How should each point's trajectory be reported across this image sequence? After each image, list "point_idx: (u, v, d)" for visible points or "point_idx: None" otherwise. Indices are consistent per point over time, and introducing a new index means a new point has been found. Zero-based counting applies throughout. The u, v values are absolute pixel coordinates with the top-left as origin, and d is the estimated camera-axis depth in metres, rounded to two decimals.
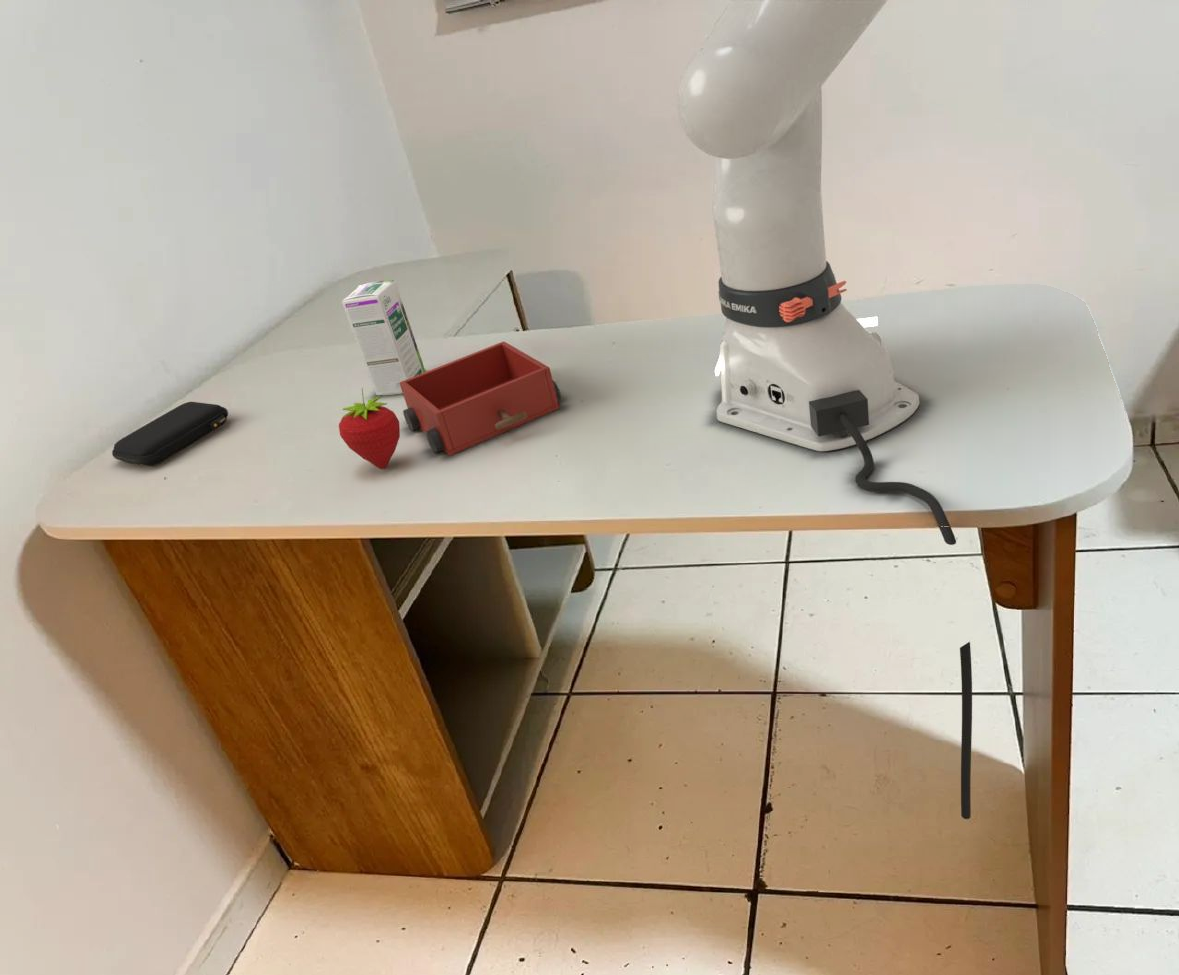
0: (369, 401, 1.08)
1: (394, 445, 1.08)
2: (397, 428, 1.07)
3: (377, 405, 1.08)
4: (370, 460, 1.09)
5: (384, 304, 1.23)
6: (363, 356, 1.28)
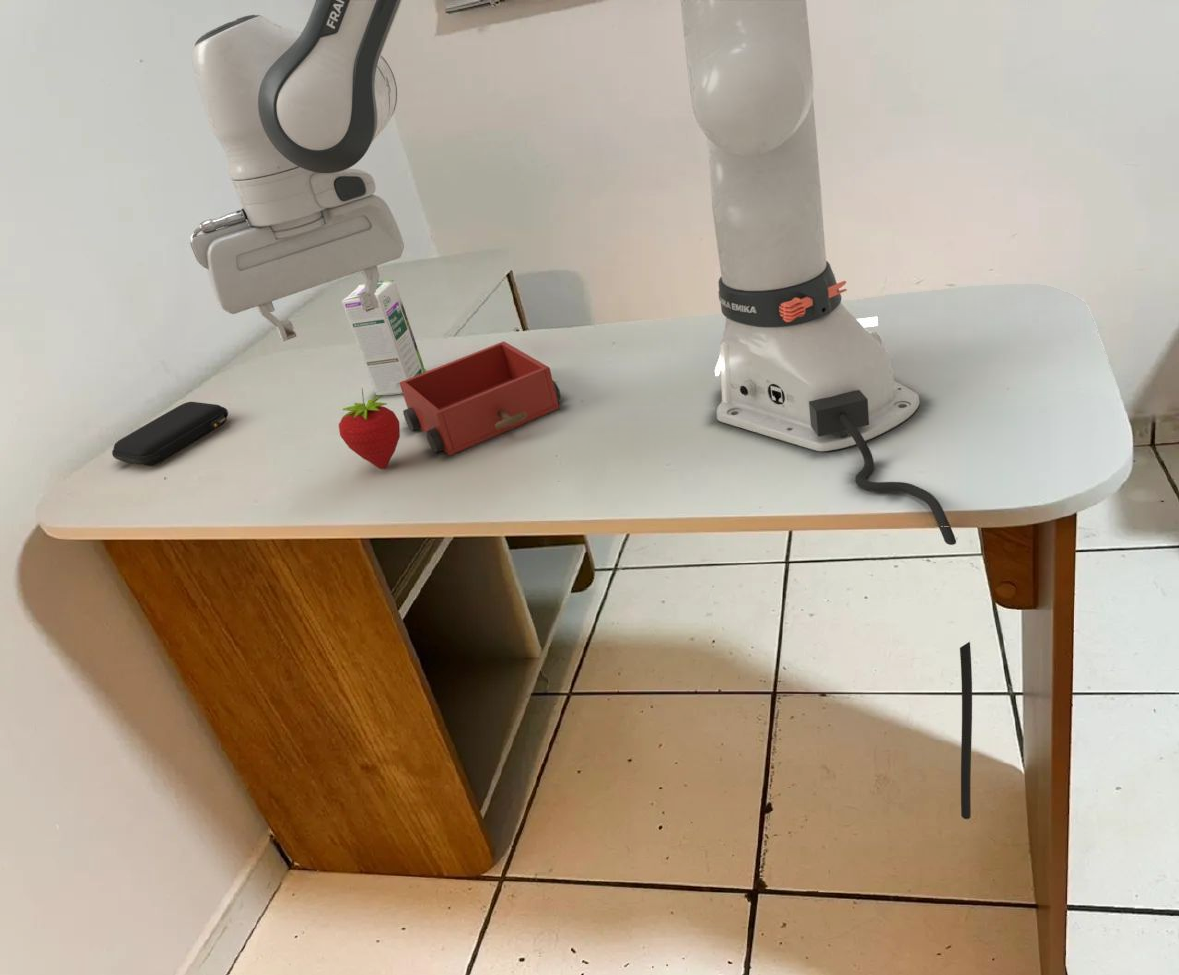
0: (369, 401, 1.08)
1: (394, 445, 1.08)
2: (397, 428, 1.07)
3: (377, 405, 1.08)
4: (370, 460, 1.09)
5: (384, 304, 1.23)
6: (363, 356, 1.28)
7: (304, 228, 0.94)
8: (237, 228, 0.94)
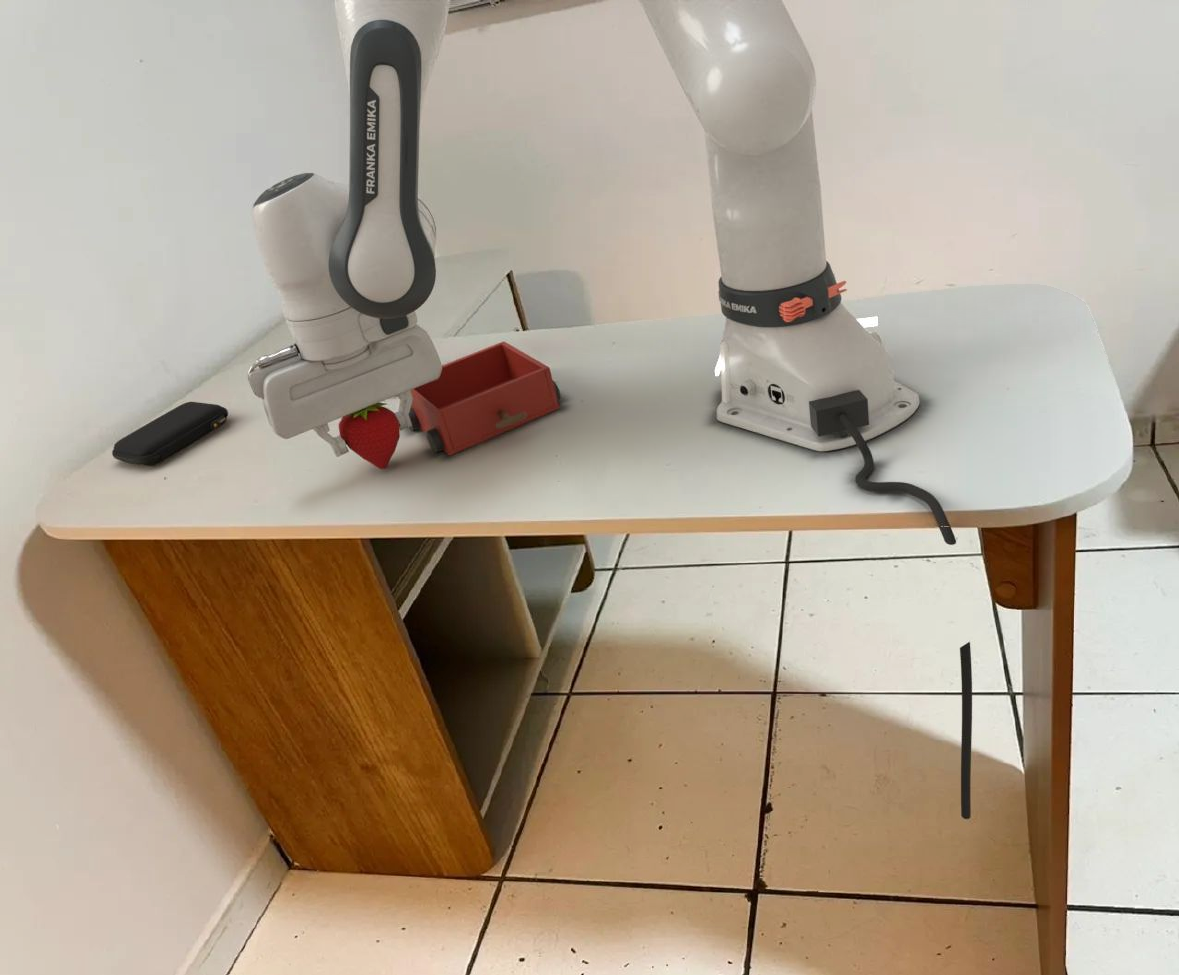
0: None
1: (394, 445, 1.08)
2: (397, 428, 1.07)
3: (377, 405, 1.08)
4: (370, 460, 1.09)
5: None
6: None
7: (352, 361, 1.02)
8: (290, 362, 1.01)
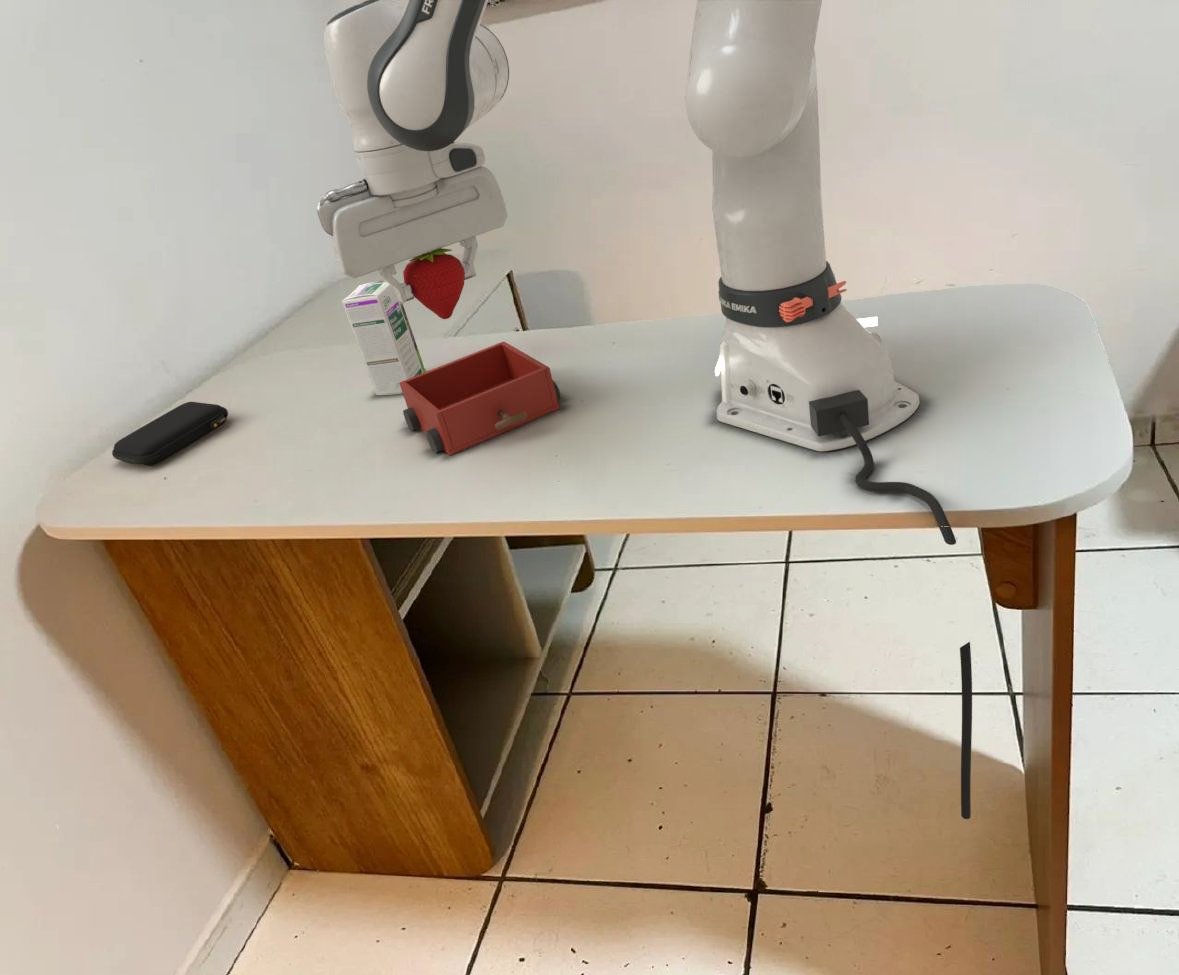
0: None
1: (459, 292, 1.08)
2: (462, 274, 1.07)
3: (442, 251, 1.07)
4: (434, 308, 1.09)
5: (384, 304, 1.23)
6: (363, 356, 1.28)
7: (421, 197, 1.01)
8: (359, 197, 1.01)
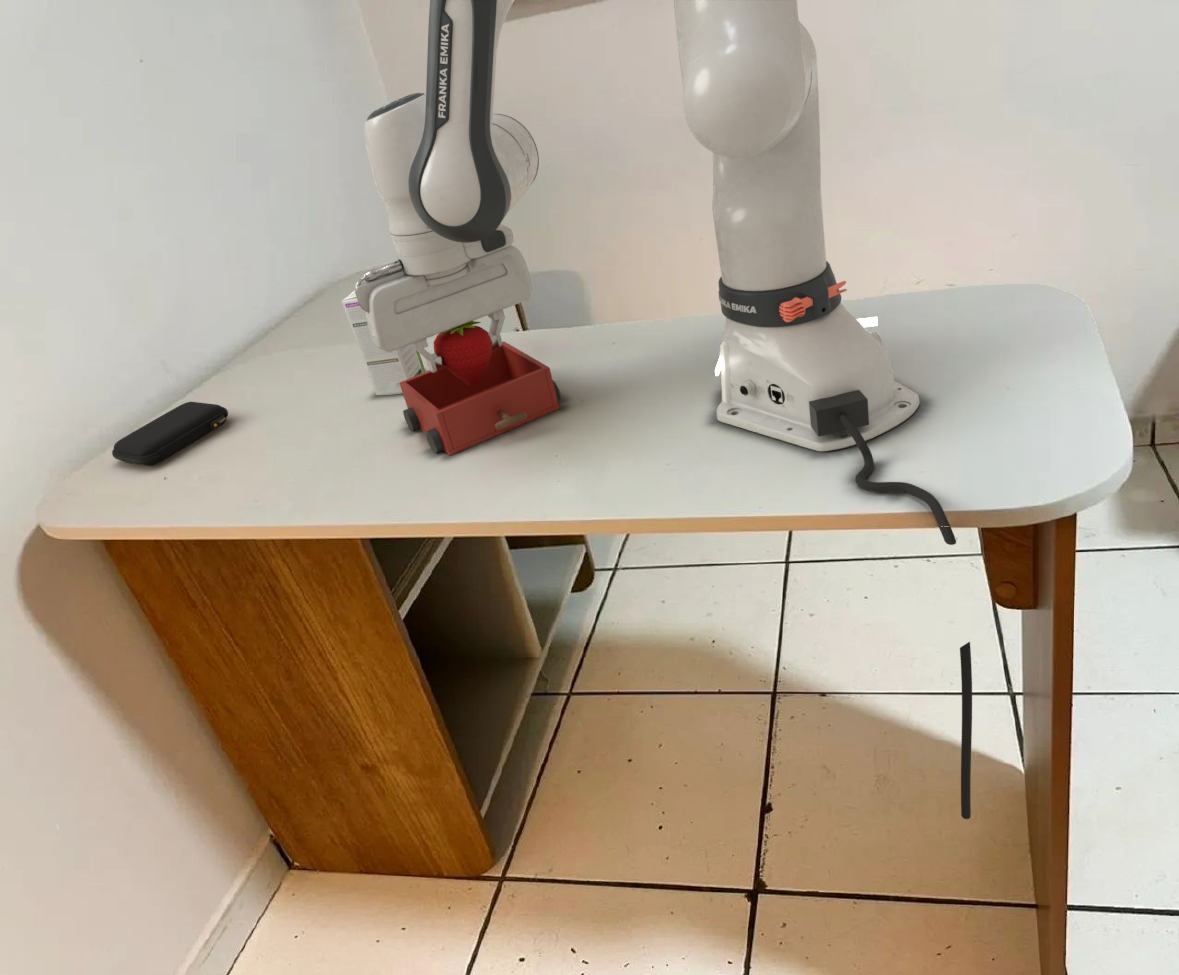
0: None
1: (487, 362, 1.13)
2: (490, 345, 1.12)
3: (471, 323, 1.12)
4: (463, 377, 1.14)
5: None
6: (363, 356, 1.28)
7: (453, 276, 1.06)
8: (394, 277, 1.06)
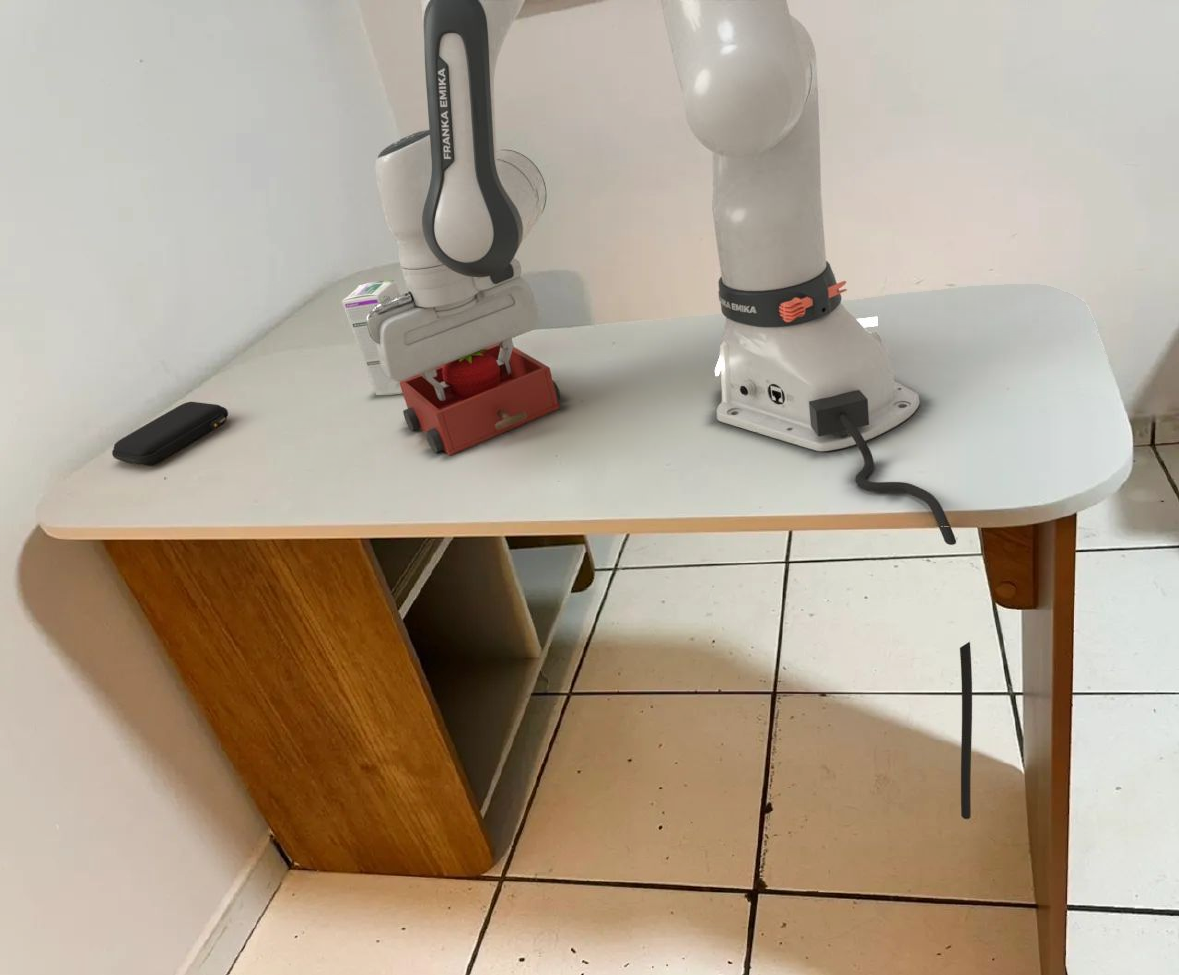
0: None
1: None
2: (498, 372, 1.14)
3: (479, 351, 1.14)
4: None
5: None
6: (363, 356, 1.28)
7: (462, 308, 1.08)
8: (405, 308, 1.08)
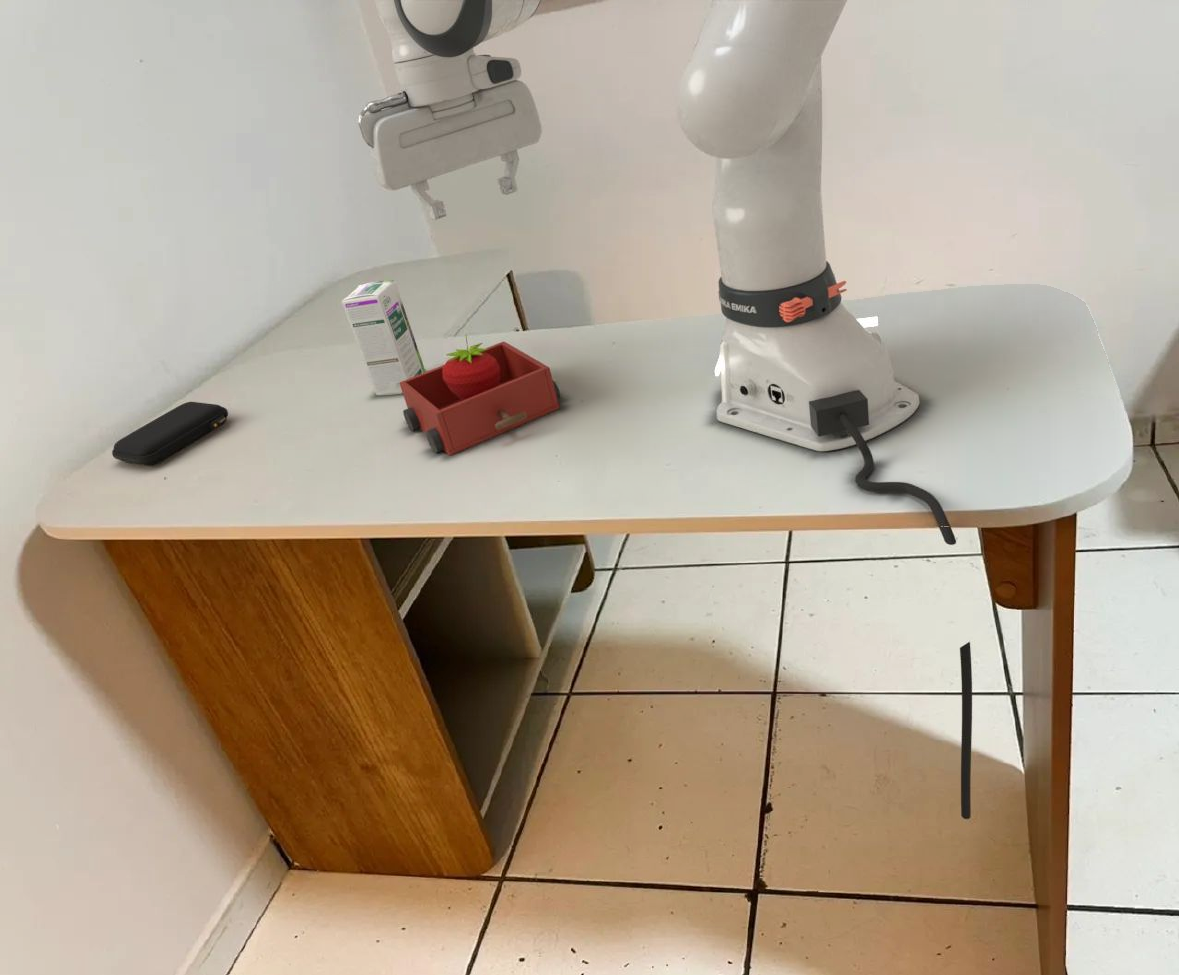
0: (471, 347, 1.15)
1: None
2: (498, 372, 1.14)
3: (479, 350, 1.14)
4: None
5: (384, 304, 1.23)
6: (363, 356, 1.28)
7: (460, 108, 1.03)
8: (399, 109, 1.02)
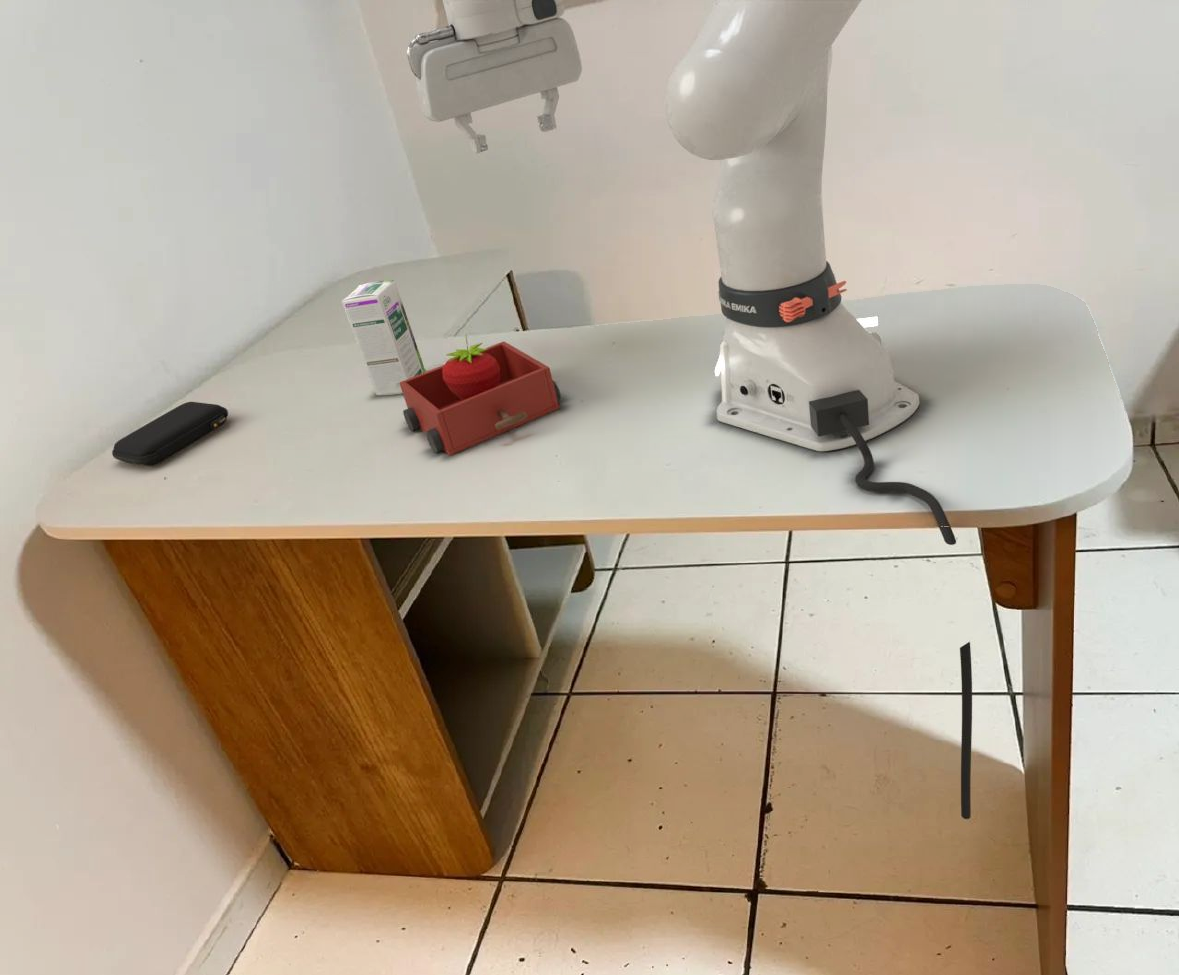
0: (471, 347, 1.15)
1: None
2: (498, 372, 1.14)
3: (479, 350, 1.14)
4: None
5: (384, 304, 1.23)
6: (363, 356, 1.28)
7: (505, 42, 1.06)
8: (446, 42, 1.06)
